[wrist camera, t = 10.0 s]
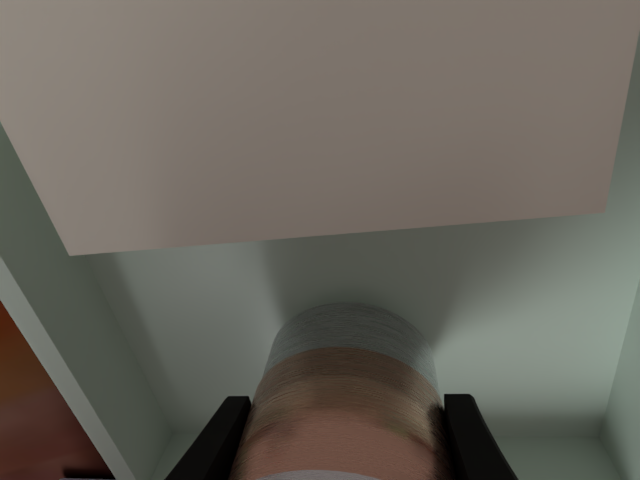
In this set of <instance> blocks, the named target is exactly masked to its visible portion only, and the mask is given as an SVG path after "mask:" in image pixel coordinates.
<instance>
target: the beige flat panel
mask: <svg viewBox="0 0 640 480" xmlns="http://www.w3.org/2000/svg"><path fill="white" fill-rule="evenodd" d="M639 31H640V0H0V122H1V124H2V126H3V128H4V130H5V132H6V134H7V136H8V137H9V139H10V141H11V143H12V145H13V147H14V149H15V151H16V153H17V155H18V157H19V159H20V161H21V163H22V165H23V167H24V169H25V170H26V172H27V174H28V176H29V178H30V180H31V182H32V184H33V186H34V188H35V190H36V192H37V194H38V196H39V198H40V200H41V202H42V203H43V205H44V207H45V209H46V211H47V213H48V215H49V217H50V219H51V221H52V223H53V225H54V227H55V229H56V231H57V233H58V235H59V237H60V238H61V240H62V242H63V244H64V246H65V248H66V250H67V252H68V254H69V256H75V255H87V254H99V253H112V252H124V251H137V250H149V249H161V248H174V247H186V246H199V245H211V244H224V243H236V242H248V241H261V240H273V239H286V238H298V237H311V236H323V235H335V234H348V233H360V232H373V231H385V230H397V229H410V228H422V227H435V226H447V225H460V224H472V223H484V222H497V221H509V220H522V219H534V218H547V217H559V216H571V215H584V214H596V213H605V209H606V204H607V198H608V193H609V188H610V183H611V177H612V172H613V167H614V162H615V156H616V151H617V146H618V141H619V136H620V130H621V125H622V120H623V115H624V109H625V104H626V99H627V94H628V88H629V83H630V78H631V73H632V68H633V62H634V57H635V52H636V47H637V41H638V36H639Z"/></svg>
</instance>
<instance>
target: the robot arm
mask: <svg viewBox="0 0 640 480" xmlns="http://www.w3.org/2000/svg"><path fill="white" fill-rule="evenodd" d="M251 405H252V404H251V401H250V398H249V396H228V397H227V398H226V399H225V400H224V401H223V403H222V404H221V405H220V407H219V408H218V410H217V411H216V412H215V414H214V415H213V416H212V418H211V419H210V420H209V422H208V423H207V425H206V426H205V427H204V429H203V430H202V431H201V433H200V434H199V435H198V437H197V438H196V439H195V441H194V442H193V443H192V445H191V446H190V447H189V449H188V450H187V451H186V452H185V454H184V455H183V456H182V458H181V459H180V460H179V462H178V463H177V464H176V465H175V467H174V468H173V469H172V471H171V472H170V473H169V474H168V476H167V477H166V478H165V479H164V480H228V477H229V474H230V471H231V468H232V465H233V462H234V459H235V455H236V452H237V449H238V446H239V443H240V440H241V436H242V433H243V430H244V427H245V424H246V421H247V417H248V414H249V411H250V408H251ZM444 412H445V418H446V423H447V429H448V435H449V441H450V447H451V452H452V458H453V463H454V469H455V475H456V480H518V478H517V476H516V475H515V473H514V472H513V470H512V468H511V467H510V465H509V464H508V462H507V460H506V459H505V457H504V455H503V453H502V452H501V450H500V448H499V447H498V445H497V443H496V441H495V439H494V437H493V436H492V434H491V432H490V430H489V428H488V426H487V424H486V423H485V421H484V419H483V417H482V414H481V412H480V410H479V408H478V406H477V404H476V401H475V399H474V397H473V396H472V395H470V394H444ZM60 480H116V479H87V478H61V479H60Z"/></svg>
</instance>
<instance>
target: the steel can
mask: <svg viewBox="0 0 640 480" xmlns="http://www.w3.org/2000/svg"><path fill="white" fill-rule="evenodd" d="M228 480H456V475H455V469H454V463H453V458H452V452H451V447H450V441H449V435H448V429H447V423H446V418H445V412H444V407H443V404H442V401H441V399H440V393H439V387H438V381H437V375H436V369H435V364H434V358H433V354H432V351H431V348H430V346H429V344H428V342H427V341H426V339H425V338H424V337H423V335H422V334H421V333H420V332H419V331H418V330H417V329H416V328H415V327H414V326H413V325H412V324H411V323H409V322H408V321H407V320H405V319H404V318H402V317H400V316H399V315H397V314H395V313H393V312H391V311H388V310H386V309H383V308H380V307H377V306H374V305H369V304H364V303H356V302H336V303H327V304H323V305H318V306H315V307H312V308H309V309H307V310H305V311H303V312H301V313H298V314H297V315H295V316H294V317H292V318H291V319H290V320H289V321H288V322H286V323H285V324H284V325H283V326H282V328H281V329H280V330H279V331H278V333H277V335H276V337H275V338H274V341H273V344H272V347H271V350H270V353H269V357H268V360H267V363H266V366H265V369H264V373H263V376H262V379H261V381H260V383H259V384H258V386H257V389H256V392H255V395H254V398H253V402H252V405H251V408H250V411H249V414H248V417H247V421H246V424H245V427H244V430H243V433H242V436H241V440H240V443H239V446H238V449H237V452H236V455H235V459H234V462H233V465H232V468H231V471H230V474H229V477H228Z"/></svg>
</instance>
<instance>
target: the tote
mask: <svg viewBox="0 0 640 480" xmlns="http://www.w3.org/2000/svg"><path fill="white" fill-rule="evenodd" d="M0 300H1V302H2V303H3V305H4V306H5V308H6V309H7V311H8V312H9V314H10V316H11V317H12V319H13V320H14V322H15V323H16V325H17V326H18V328H19V329H20V331H21V333H22V334H23V336H24V337H25V339H26V340H27V342H28V343H29V345H30V347H31V348H32V350H33V351H34V353H35V354H36V356H37V357H38V359H39V360H40V362H41V364H42V365H43V367H44V368H45V370H46V371H47V373H48V374H49V376H50V377H51V379H52V381H53V382H54V384H55V385H56V387H57V388H58V390H59V391H60V393H61V395H62V396H63V398H64V399H65V401H66V402H67V404H68V405H69V407H70V408H71V410H72V412H73V413H74V415H75V416H76V418H77V419H78V421H79V422H80V424H81V425H82V427H83V429H84V430H85V432H86V433H87V435H88V436H89V438H90V439H91V441H92V443H93V444H94V446H95V447H96V449H97V450H98V452H99V453H100V455H101V456H102V458H103V460H104V461H105V463H106V464H107V466H108V467H109V469H110V470H111V472H112V473H113V475H114V477H115V478H116V480H164V479H165V478H166V477H167V476H168V474H169V473H170V472H171V471H172V469H173V468H174V467H175V465H176V464H177V463H178V462H179V460H180V459H181V458H182V456H183V455H184V454H185V452H186V451H187V450H188V449H189V447H190V446H191V445H192V443H193V442H194V441H195V439H196V438H197V437H198V435H199V434H200V433H201V431H202V430H203V429H204V427H205V426H206V425H207V423H208V422H209V420H210V419H211V418H212V416H213V415H214V414H215V412H216V411H217V410H218V408H219V407H220V405H221V404H222V403H223V401H224V400H225V399H226V398H227V397H228V396H249V398H250V401H251V404H252V402H253V398H254V395H255V392H256V389H257V386H258V384H259V383H260V381H261V379H262V376H263V373H264V369H265V366H266V363H267V360H268V357H269V353H270V350H271V347H272V344H273V341H274V338H275V337H276V335H277V333H278V331H279V330H280V329H281V328H282V326H283V325H284V324H285V323H286V322H288V321H289V320H290V319H291V318H292V317H294V316H295V315H297V314H298V313H301V312H303V311H305V310H307V309H309V308H312V307H315V306H318V305H323V304H327V303H336V302H356V303H364V304H369V305H374V306H377V307H380V308H383V309H386V310H388V311H391V312H393V313H395V314H397V315H399V316H400V317H402V318H404V319H405V320H407V321H408V322H409V323H411V324H412V325H413V326H414V327H415V328H416V329H417V330H418V331H419V332H420V333H421V334H422V335H423V337H424V338H425V339H426V341H427V342H428V344H429V346H430V348H431V351H432V354H433V358H434V364H435V369H436V375H437V381H438V387H439V393H440V399H441V401H442V404H443V407H444V394H470V395H472V396H473V397H474V399H475V401H476V404H477V406H478V408H479V410H480V412H481V414H482V417H483V419H484V421H485V423H486V424H487V426H488V428H489V430H490V432H491V434H492V436H493V437H494V439H495V441H496V443H497V445H498V447H499V448H500V450H501V452H502V453H503V455H504V457H505V459H506V460H507V462H508V464H509V465H510V467H511V468H512V470H513V472H514V473H515V475H516V476H517V478H518V480H640V31H639V36H638V41H637V47H636V52H635V57H634V62H633V68H632V73H631V78H630V83H629V88H628V94H627V99H626V104H625V109H624V115H623V120H622V125H621V130H620V136H619V141H618V146H617V151H616V156H615V162H614V167H613V172H612V177H611V183H610V188H609V193H608V198H607V204H606V209H605V213H596V214H584V215H571V216H559V217H547V218H534V219H522V220H509V221H497V222H484V223H472V224H460V225H447V226H435V227H422V228H410V229H397V230H385V231H373V232H360V233H348V234H335V235H323V236H311V237H298V238H286V239H273V240H261V241H248V242H236V243H224V244H211V245H199V246H186V247H174V248H161V249H149V250H137V251H124V252H112V253H99V254H87V255H75V256H69V254H68V252H67V250H66V248H65V246H64V244H63V242H62V240H61V238H60V237H59V235H58V233H57V231H56V229H55V227H54V225H53V223H52V221H51V219H50V217H49V215H48V213H47V211H46V209H45V207H44V205H43V203H42V202H41V200H40V198H39V196H38V194H37V192H36V190H35V188H34V186H33V184H32V182H31V180H30V178H29V176H28V174H27V172H26V170H25V169H24V167H23V165H22V163H21V161H20V159H19V157H18V155H17V153H16V151H15V149H14V147H13V145H12V143H11V141H10V139H9V137H8V136H7V134H6V132H5V130H4V128H3V126H2V124H1V122H0Z"/></svg>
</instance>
